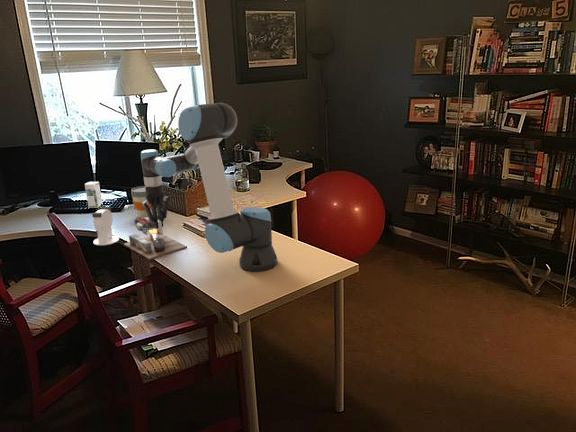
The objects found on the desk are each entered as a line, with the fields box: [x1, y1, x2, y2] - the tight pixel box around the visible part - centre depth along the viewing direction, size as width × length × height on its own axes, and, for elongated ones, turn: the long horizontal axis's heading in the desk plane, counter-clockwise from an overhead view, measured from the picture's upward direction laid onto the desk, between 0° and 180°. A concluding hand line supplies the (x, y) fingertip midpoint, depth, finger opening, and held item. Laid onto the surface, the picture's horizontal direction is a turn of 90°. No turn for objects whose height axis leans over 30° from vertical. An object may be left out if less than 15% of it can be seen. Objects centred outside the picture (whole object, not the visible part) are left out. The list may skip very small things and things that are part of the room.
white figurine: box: [91, 206, 120, 246], centre depth 223 cm, size 12×11×15 cm
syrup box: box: [84, 181, 103, 209], centre depth 274 cm, size 6×6×14 cm
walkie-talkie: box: [134, 216, 155, 233], centre depth 241 cm, size 9×4×20 cm
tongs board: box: [123, 233, 188, 261], centre depth 215 cm, size 24×18×4 cm
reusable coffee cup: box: [130, 185, 152, 218], centre depth 255 cm, size 13×13×15 cm
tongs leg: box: [148, 228, 165, 252], centre depth 216 cm, size 20×4×4 cm, turn 23°
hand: (160, 234), depth 224 cm, fingers closed
